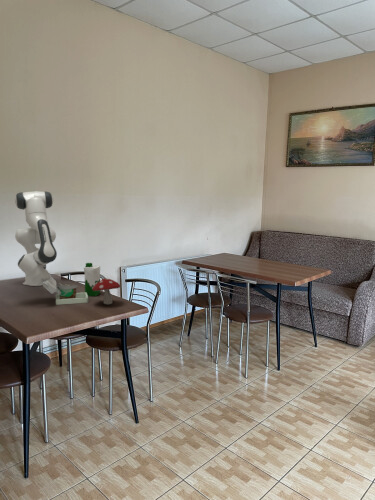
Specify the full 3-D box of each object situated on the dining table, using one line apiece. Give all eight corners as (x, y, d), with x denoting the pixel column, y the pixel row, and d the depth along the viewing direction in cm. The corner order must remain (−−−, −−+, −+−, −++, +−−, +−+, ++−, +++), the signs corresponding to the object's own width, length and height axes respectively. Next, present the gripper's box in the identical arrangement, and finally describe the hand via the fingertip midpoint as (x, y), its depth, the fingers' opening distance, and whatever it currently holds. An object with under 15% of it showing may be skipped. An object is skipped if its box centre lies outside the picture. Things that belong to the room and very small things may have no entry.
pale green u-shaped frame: (55, 298, 231) (55, 294, 231) (86, 296, 237) (86, 292, 237) (55, 304, 219) (55, 299, 219) (88, 302, 225) (88, 297, 225)
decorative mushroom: (88, 307, 216) (88, 281, 214) (97, 299, 232) (97, 275, 230) (116, 308, 215) (116, 282, 213) (123, 300, 231) (123, 276, 229)
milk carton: (89, 292, 247) (88, 261, 244) (102, 293, 246) (101, 262, 243) (82, 295, 239) (82, 264, 236) (96, 297, 237) (95, 265, 234)
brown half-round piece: (53, 301, 226) (53, 284, 225) (59, 298, 232) (59, 282, 230) (71, 303, 222) (71, 286, 221) (77, 300, 228) (77, 284, 227)
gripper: (46, 277, 212) (64, 293, 216) (46, 270, 231) (64, 285, 236) (37, 285, 211) (56, 301, 216) (39, 277, 230) (56, 292, 235)
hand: (60, 293), depth 226 cm, fingers closed
